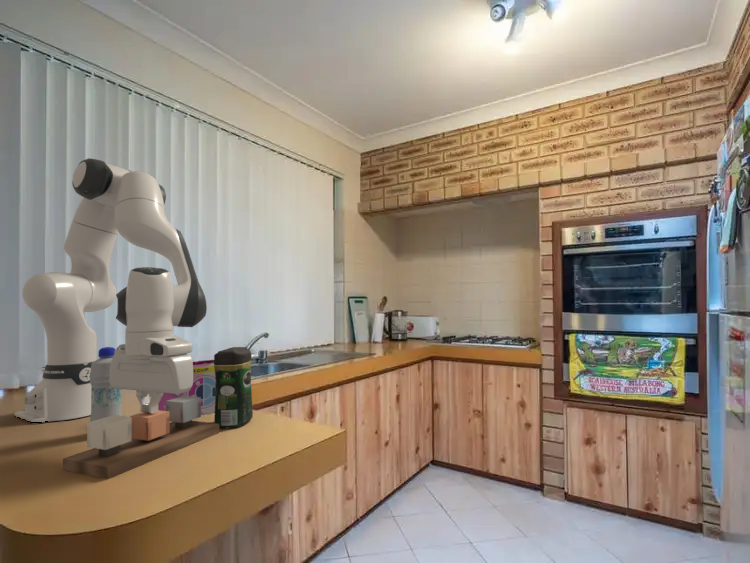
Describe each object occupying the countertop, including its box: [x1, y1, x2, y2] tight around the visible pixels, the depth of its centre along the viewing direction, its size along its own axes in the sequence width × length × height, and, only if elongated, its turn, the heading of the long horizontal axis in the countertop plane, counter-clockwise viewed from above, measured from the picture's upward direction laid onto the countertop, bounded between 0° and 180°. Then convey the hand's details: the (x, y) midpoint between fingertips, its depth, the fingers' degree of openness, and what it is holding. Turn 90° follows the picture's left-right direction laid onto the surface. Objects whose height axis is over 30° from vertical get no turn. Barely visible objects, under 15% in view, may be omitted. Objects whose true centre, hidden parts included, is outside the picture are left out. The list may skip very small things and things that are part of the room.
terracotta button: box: [129, 410, 170, 441], centre depth 84 cm, size 5×5×4 cm
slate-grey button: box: [166, 396, 202, 423], centre depth 92 cm, size 5×5×4 cm
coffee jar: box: [213, 346, 254, 429], centre depth 101 cm, size 10×8×19 cm
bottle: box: [89, 346, 123, 422], centre depth 95 cm, size 7×7×20 cm
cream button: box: [86, 415, 132, 450], centre depth 76 cm, size 5×5×4 cm
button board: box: [62, 420, 220, 480], centre depth 84 cm, size 12×26×6 cm, turn 158°
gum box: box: [158, 359, 216, 416], centre depth 113 cm, size 24×8×14 cm, turn 127°
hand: (149, 412), depth 84 cm, fingers closed
